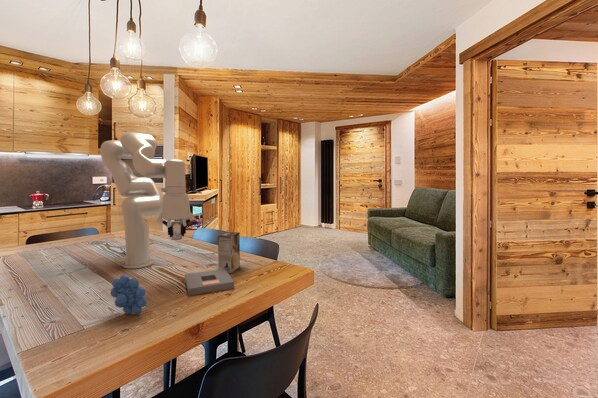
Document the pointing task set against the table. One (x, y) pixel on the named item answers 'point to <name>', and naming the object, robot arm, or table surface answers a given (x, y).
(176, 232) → the peg
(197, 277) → the hole board
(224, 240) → the coffee box
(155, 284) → the table surface
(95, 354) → the table surface
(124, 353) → the table surface
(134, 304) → the grapes
